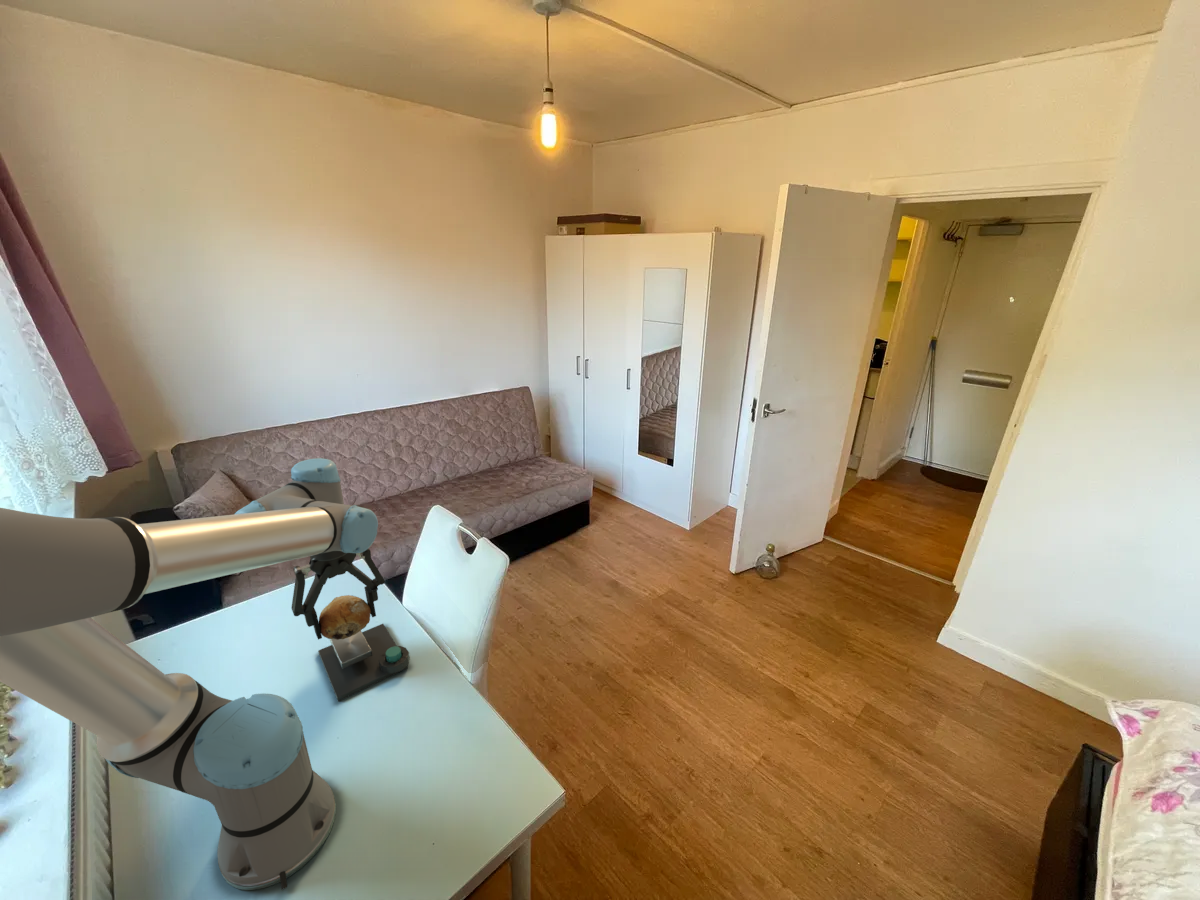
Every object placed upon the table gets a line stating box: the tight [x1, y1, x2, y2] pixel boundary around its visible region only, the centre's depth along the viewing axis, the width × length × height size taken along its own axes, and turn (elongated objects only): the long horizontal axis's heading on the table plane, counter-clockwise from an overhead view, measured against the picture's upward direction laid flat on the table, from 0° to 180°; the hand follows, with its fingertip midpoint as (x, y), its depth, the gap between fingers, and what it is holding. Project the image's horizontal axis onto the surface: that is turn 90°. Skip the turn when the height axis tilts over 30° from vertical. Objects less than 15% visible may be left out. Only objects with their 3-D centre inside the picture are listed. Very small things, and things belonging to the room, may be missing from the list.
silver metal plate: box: [329, 630, 372, 669], centre depth 107 cm, size 10×6×2 cm, turn 40°
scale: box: [318, 623, 411, 702], centre depth 107 cm, size 17×15×3 cm
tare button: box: [386, 645, 401, 663], centre depth 105 cm, size 3×3×2 cm
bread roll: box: [318, 594, 371, 640], centre depth 104 cm, size 10×10×8 cm
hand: (346, 623), depth 104 cm, fingers closed on bread roll, 10 cm apart
